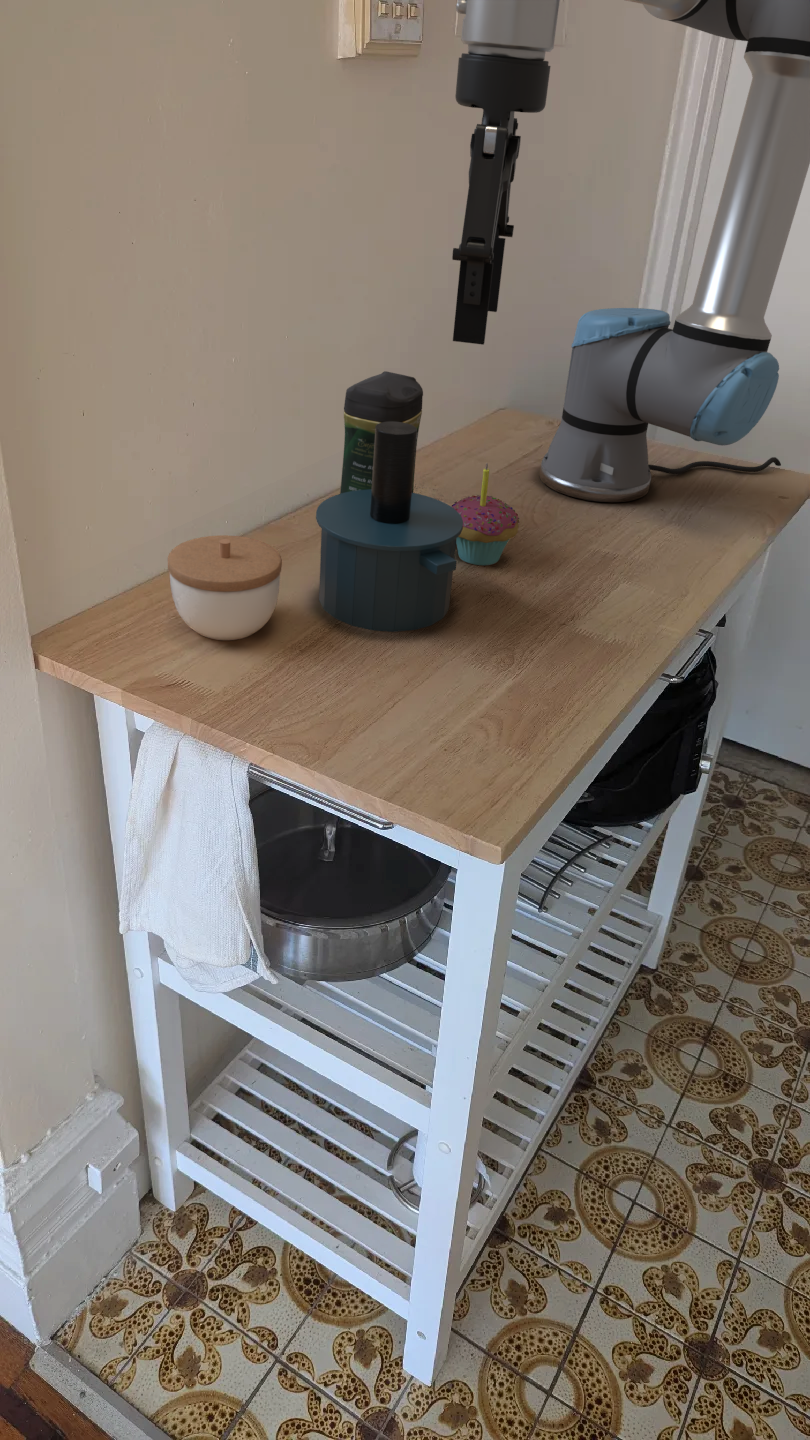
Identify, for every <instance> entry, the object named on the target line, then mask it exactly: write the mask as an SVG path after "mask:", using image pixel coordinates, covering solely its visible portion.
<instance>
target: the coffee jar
mask: <svg viewBox="0 0 810 1440" xmlns="http://www.w3.org/2000/svg"><path fill="white" fill-rule="evenodd" d="M423 396H424V390H423V387H422V385H420V383H419V382H418V381H417V379H416V378H415V377H414V376H409V375H405V374H400V373H396V372H392V371H383V372H382V373H379V374H376V375H373V376H370V377H368V378H367V377H366V378H365V379H363V380H361V381H359V382H356V383H354V384H353V385H351V386H349V387H347V389H346V391H345V398H344V404H343V424H344V425H343V426H344V443H343V457H342V466H341V467H342V468H341V479H340V480H341V481H340V490H339V494H341V493H345V492H350V491H357V490H369V489H372V475H373V459H374V443H375V427H376V425H377V424H379V423H382V422H390V421H393V422H403V423H407V424H410V425H413V426H414V427H416V428H417V437H416V449H415V461H414V473H413V485H412V493H414V487H415V486H414V485H415V471H416V459H417V458H416V457H417V447H418V437H419V429H420V424H421V420H422V415H423V398H424V397H423Z"/></svg>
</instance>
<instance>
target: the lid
mask: <svg viewBox="0 0 810 1440" xmlns="http://www.w3.org/2000/svg"><path fill="white" fill-rule="evenodd" d="M416 437H417V428H416V427H414V426H413V425H410V424H407V423H403V422H393V421H390V422H382V423H379V424H377V425H376V427H375V443H374V459H373V475H372V489H369V490H357V491H350V492H345V493H341V494H340V493H337V494H335V495H333V496H330V498H329V497H328V498H326V499H324V500H323V501H322V502H320V504H319V505H318V506H317V508H316V510H315V521H316V523H317V525H318V526H319V527H320V528H321V530H322V529H323V530H324V531H325V532H326V533H328V534H329V535H331V536H333V537H335V538H337V539H339V540H341V541H344V542H347V543H349V544H353V545H356V546H361V547H365V548H371V549H377V550H386V551H417V550H425V549H431V548H435V547H439V546H442V545H445V544H447V543H449V542H451V541H453V540H455V539H456V538H457V537H458V536H459V535H460V534H461V532H462V529H463V520H462V517H461V515H460V514H459V513H458V512H457V511H456V510H455V509H454V508H452V507H451V506H452V505H449V504H447V503H446V502H444V501H441V500H439V499H437V498H434V497H430V496H428V495H424V494H420V493H417V492H413V493H412V485H413V473H414V461H415V462H416V459H415V449H416V450H417V447H416ZM414 474H415V473H414Z"/></svg>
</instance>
